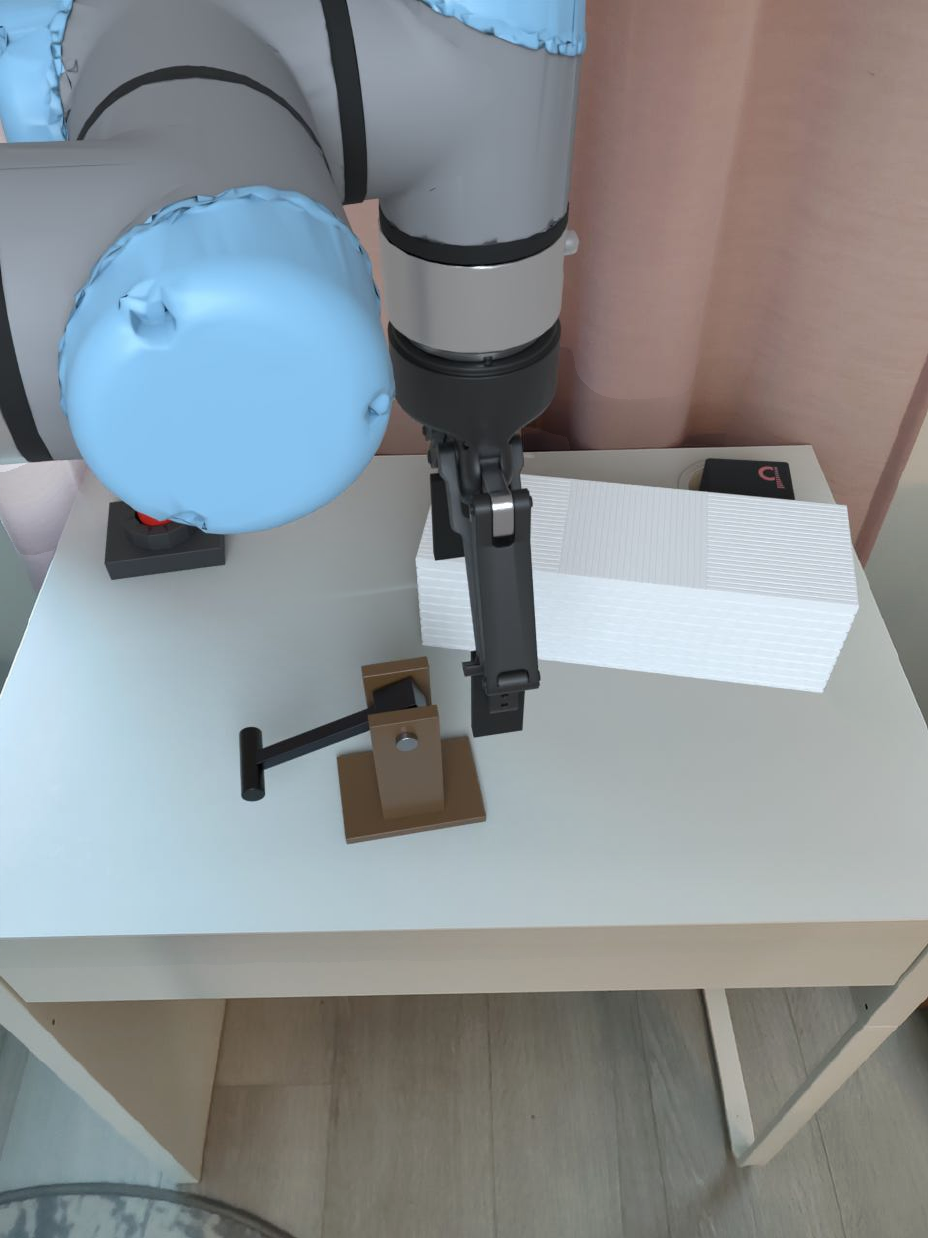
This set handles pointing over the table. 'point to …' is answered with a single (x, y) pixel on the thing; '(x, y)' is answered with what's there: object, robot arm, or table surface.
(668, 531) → the stack of papers
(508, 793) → the table surface
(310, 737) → the lever
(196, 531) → the control block
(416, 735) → the bracket
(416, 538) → the table surface
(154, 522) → the button
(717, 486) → the electronic device
